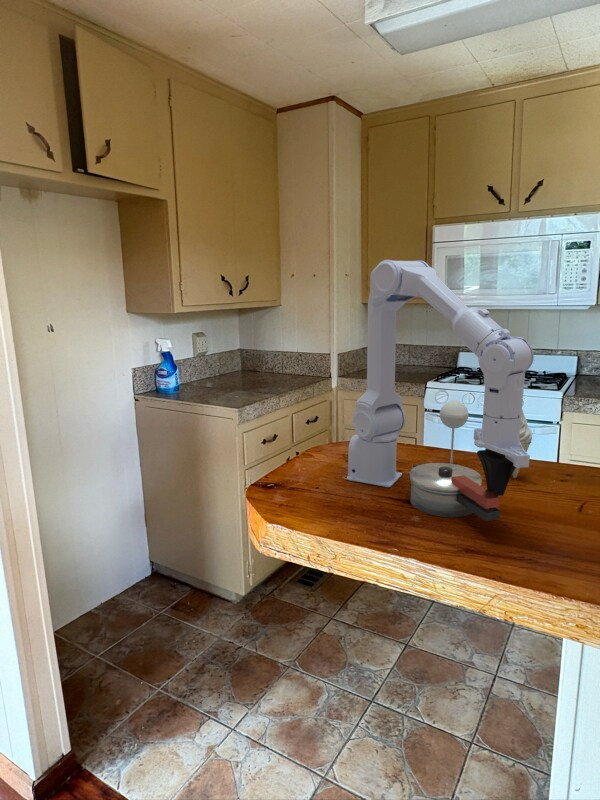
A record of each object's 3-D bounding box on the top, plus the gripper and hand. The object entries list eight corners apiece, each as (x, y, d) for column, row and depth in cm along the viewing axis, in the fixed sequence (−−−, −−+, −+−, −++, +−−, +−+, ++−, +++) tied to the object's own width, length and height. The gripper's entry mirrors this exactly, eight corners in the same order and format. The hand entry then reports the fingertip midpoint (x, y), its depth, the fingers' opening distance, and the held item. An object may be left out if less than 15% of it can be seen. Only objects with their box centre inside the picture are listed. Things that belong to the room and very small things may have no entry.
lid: (398, 470, 100) (398, 460, 100) (456, 463, 104) (456, 454, 103) (457, 515, 81) (457, 503, 81) (526, 505, 85) (527, 493, 84)
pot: (384, 517, 91) (385, 492, 90) (415, 481, 107) (415, 460, 106) (496, 541, 83) (498, 513, 82) (511, 498, 99) (513, 475, 98)
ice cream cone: (530, 483, 106) (537, 410, 102) (503, 481, 107) (509, 409, 103) (525, 474, 111) (531, 405, 107) (499, 472, 112) (505, 404, 108)
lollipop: (433, 463, 118) (436, 398, 114) (458, 462, 118) (462, 397, 115) (442, 473, 112) (446, 404, 108) (469, 472, 112) (474, 404, 109)
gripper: (459, 405, 90) (454, 479, 94) (500, 428, 76) (493, 514, 79) (498, 403, 91) (492, 477, 94) (546, 425, 77) (537, 511, 80)
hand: (495, 494), depth 87 cm, fingers closed
